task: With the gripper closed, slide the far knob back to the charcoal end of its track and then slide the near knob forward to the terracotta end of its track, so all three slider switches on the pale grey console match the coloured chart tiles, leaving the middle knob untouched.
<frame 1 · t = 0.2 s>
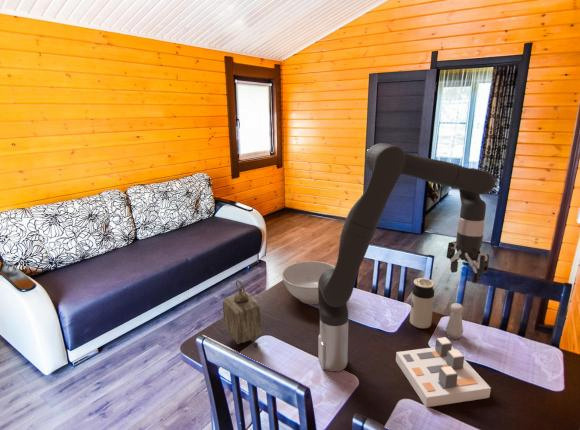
hand: (464, 277, 120), 28 cm above the table, fingers open, 8 cm apart
knob near: (447, 376, 105), point 6 cm above the table, slide at 0.3 cm
travel mug: (420, 323, 142), on the table
decorative bowl: (311, 297, 164), on the table
console: (439, 377, 113), on the table
salt shaker: (453, 336, 134), on the table
knob mid: (455, 359, 112), point 6 cm above the table, slide at 6.7 cm
brown wooden lantern: (243, 342, 133), on the table
knob far: (443, 346, 118), point 6 cm above the table, slide at 6.7 cm
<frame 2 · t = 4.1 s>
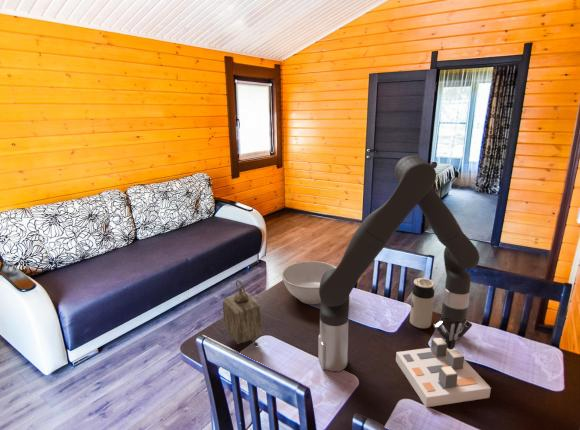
hand: (449, 347, 119), 5 cm above the table, fingers closed
knob far: (438, 347, 118), point 6 cm above the table, slide at 5.1 cm, touching gripper
everything else where it was.
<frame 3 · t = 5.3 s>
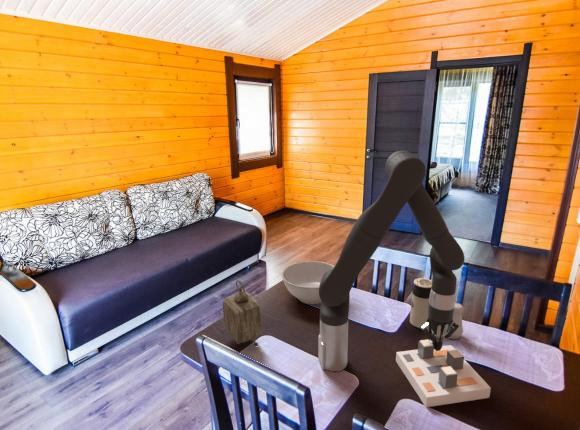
hand: (436, 349, 118), 5 cm above the table, fingers closed
knob far: (425, 348, 118), point 6 cm above the table, slide at 0.4 cm, touching gripper
everything else where it was.
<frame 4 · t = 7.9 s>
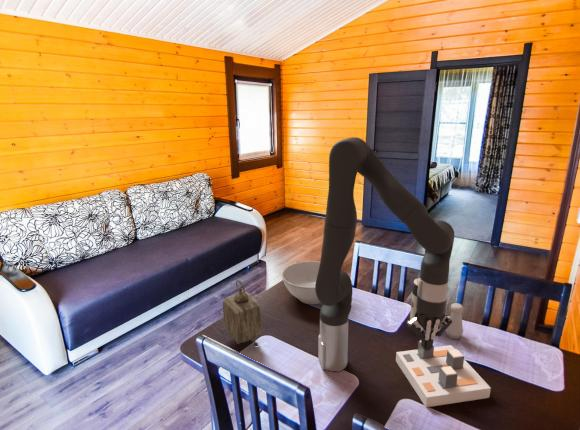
hand: (426, 348, 101), 17 cm above the table, fingers closed
knob far: (425, 348, 118), point 6 cm above the table, slide at 0.4 cm
everything else where it was.
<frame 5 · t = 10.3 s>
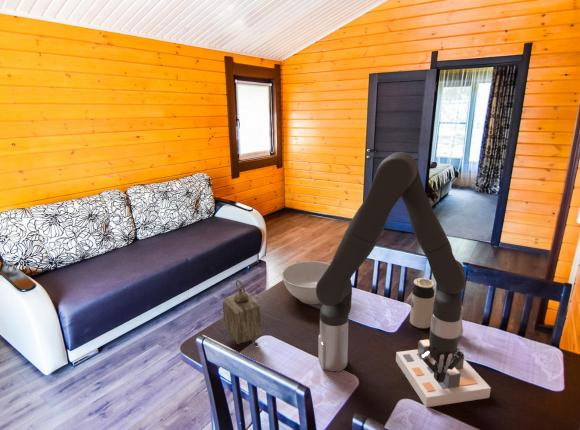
hand: (439, 380, 105), 6 cm above the table, fingers closed
knob near: (450, 376, 105), point 6 cm above the table, slide at 1.2 cm, touching gripper
everything else where it was.
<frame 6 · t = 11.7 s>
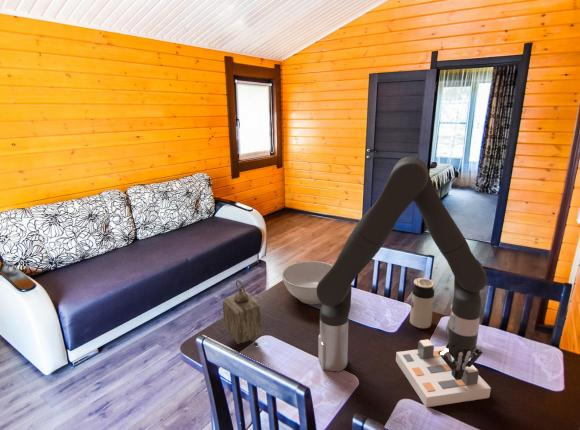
hand: (456, 377, 106), 6 cm above the table, fingers closed
knob near: (468, 373, 106), point 6 cm above the table, slide at 7.0 cm, touching gripper
everything else where it was.
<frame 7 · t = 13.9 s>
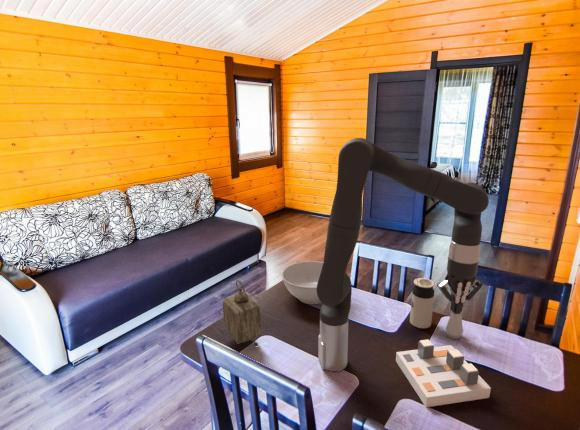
hand: (455, 312, 102), 26 cm above the table, fingers closed
knob near: (468, 373, 106), point 6 cm above the table, slide at 7.1 cm
everything else where it was.
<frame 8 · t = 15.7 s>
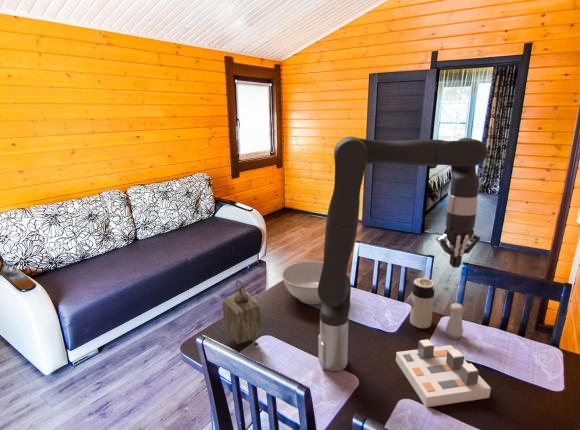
hand: (454, 266, 106), 37 cm above the table, fingers closed
nothing on the table moved.
at the end: knob near slide at 7.1 cm; knob far slide at 0.4 cm; knob mid slide at 6.7 cm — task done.
